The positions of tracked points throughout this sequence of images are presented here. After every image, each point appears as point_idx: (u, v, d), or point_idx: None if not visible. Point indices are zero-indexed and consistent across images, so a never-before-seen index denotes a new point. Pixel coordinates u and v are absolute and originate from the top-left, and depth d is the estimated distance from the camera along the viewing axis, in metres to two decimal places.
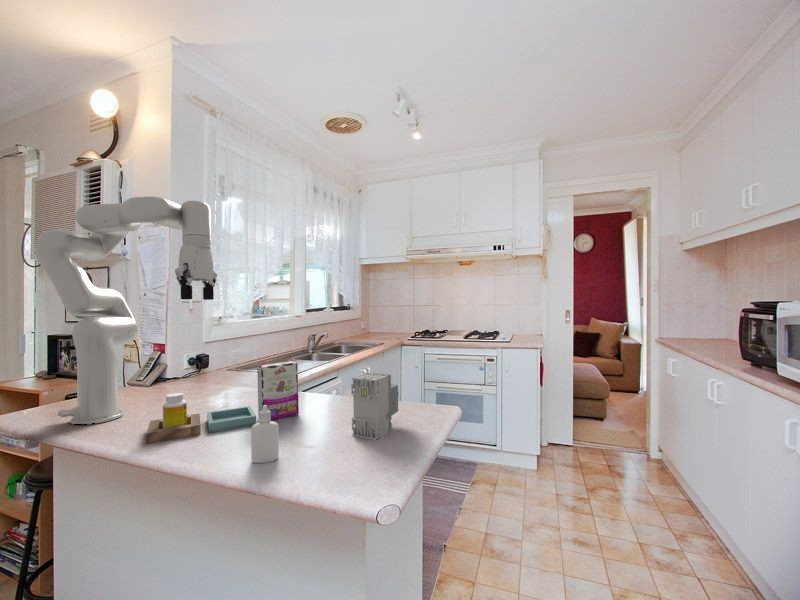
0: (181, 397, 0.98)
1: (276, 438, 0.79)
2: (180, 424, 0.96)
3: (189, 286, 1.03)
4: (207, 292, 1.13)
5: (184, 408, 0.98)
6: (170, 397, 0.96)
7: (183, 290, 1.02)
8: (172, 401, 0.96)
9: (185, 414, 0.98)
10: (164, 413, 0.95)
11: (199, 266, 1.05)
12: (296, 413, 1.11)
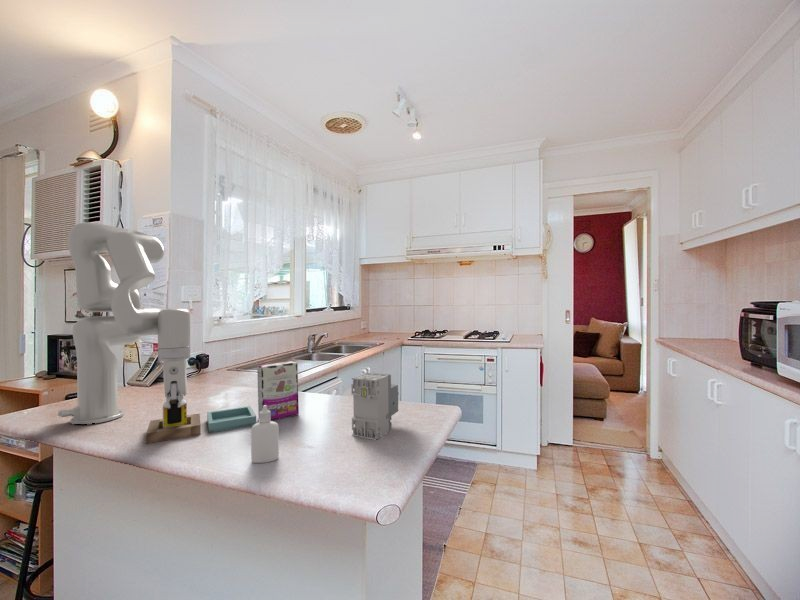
0: (181, 397, 0.98)
1: (276, 438, 0.79)
2: (180, 424, 0.96)
3: None
4: None
5: (184, 408, 0.98)
6: None
7: None
8: None
9: (185, 414, 0.98)
10: (164, 413, 0.95)
11: None
12: (296, 413, 1.11)
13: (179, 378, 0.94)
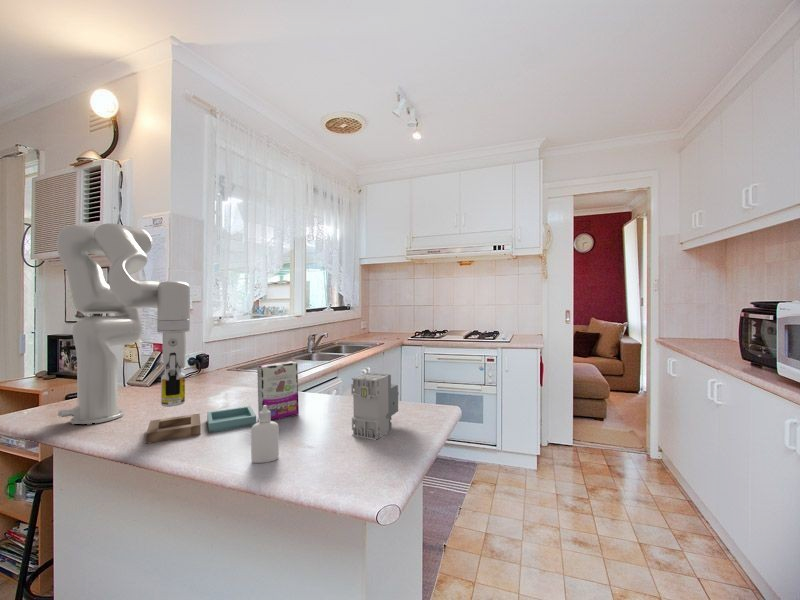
0: (180, 370, 0.98)
1: (276, 438, 0.79)
2: (178, 396, 0.97)
3: None
4: None
5: (182, 381, 0.98)
6: None
7: None
8: None
9: (183, 387, 0.99)
10: (162, 385, 0.96)
11: None
12: (296, 413, 1.11)
13: (178, 350, 0.95)
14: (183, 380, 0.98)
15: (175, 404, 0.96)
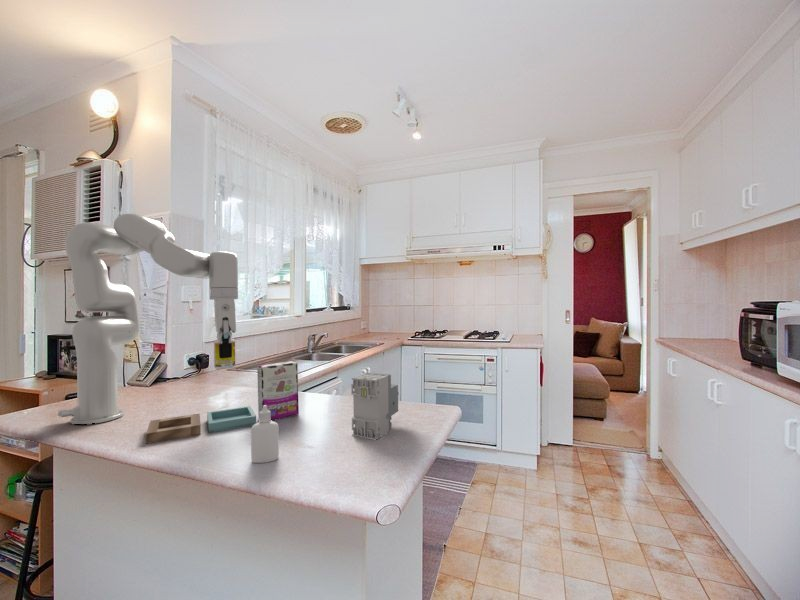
0: None
1: (276, 438, 0.79)
2: (230, 359, 1.03)
3: None
4: None
5: (233, 345, 1.04)
6: None
7: None
8: None
9: (234, 351, 1.05)
10: (216, 348, 1.02)
11: None
12: (296, 413, 1.11)
13: (230, 315, 1.01)
14: (234, 345, 1.04)
15: (227, 366, 1.02)
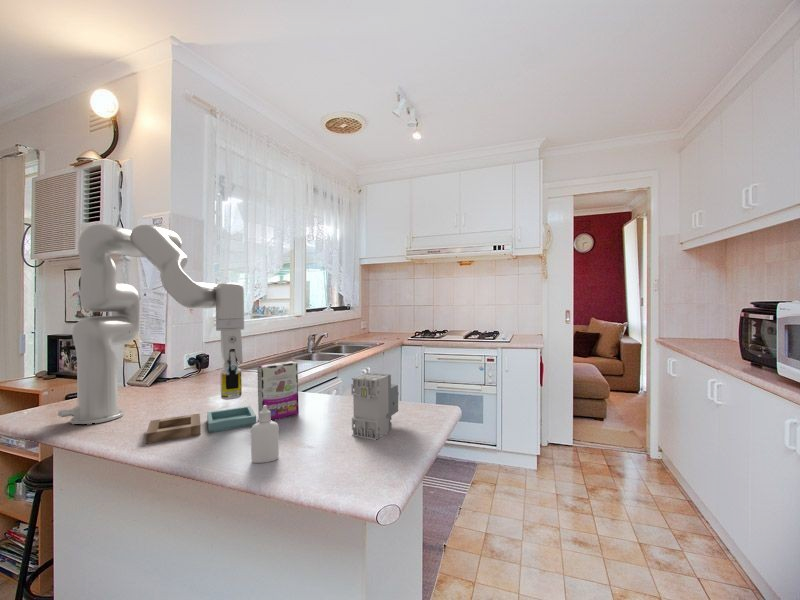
0: (237, 365, 1.05)
1: (276, 438, 0.79)
2: (237, 390, 1.04)
3: None
4: None
5: (240, 375, 1.05)
6: None
7: None
8: None
9: (240, 381, 1.05)
10: (222, 379, 1.03)
11: None
12: (296, 413, 1.11)
13: (237, 346, 1.02)
14: (240, 375, 1.05)
15: (234, 397, 1.03)
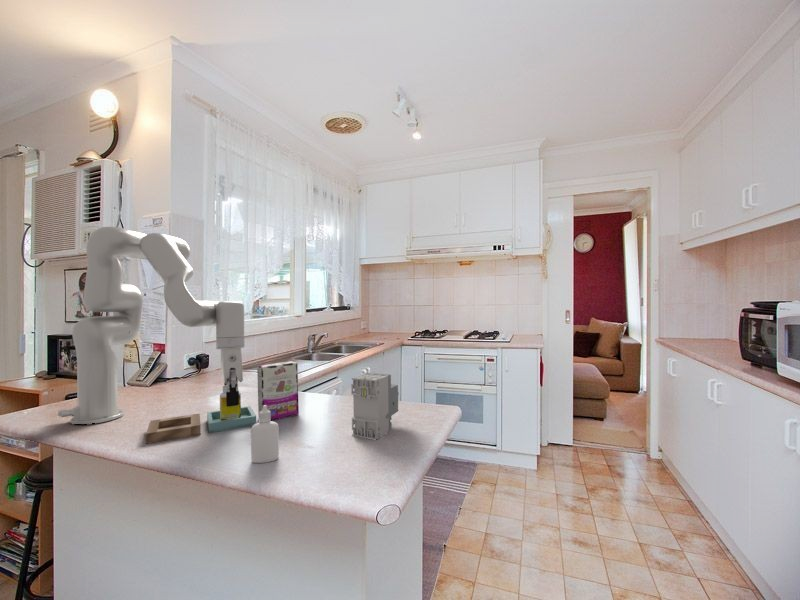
0: None
1: (276, 438, 0.79)
2: (236, 413, 1.04)
3: None
4: None
5: (239, 398, 1.05)
6: None
7: None
8: None
9: (240, 404, 1.05)
10: (222, 403, 1.03)
11: None
12: (296, 413, 1.11)
13: (237, 365, 1.01)
14: (239, 397, 1.05)
15: None
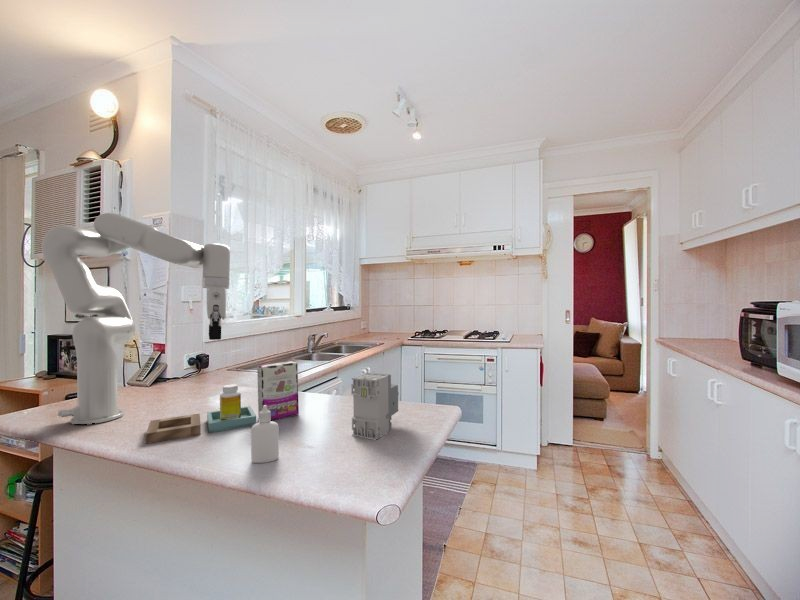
0: (236, 388, 1.05)
1: (276, 438, 0.79)
2: (236, 413, 1.04)
3: None
4: None
5: (239, 398, 1.05)
6: (227, 387, 1.03)
7: None
8: (229, 391, 1.03)
9: (240, 404, 1.05)
10: (222, 402, 1.03)
11: None
12: (296, 413, 1.11)
13: (220, 303, 1.08)
14: (239, 397, 1.05)
15: None
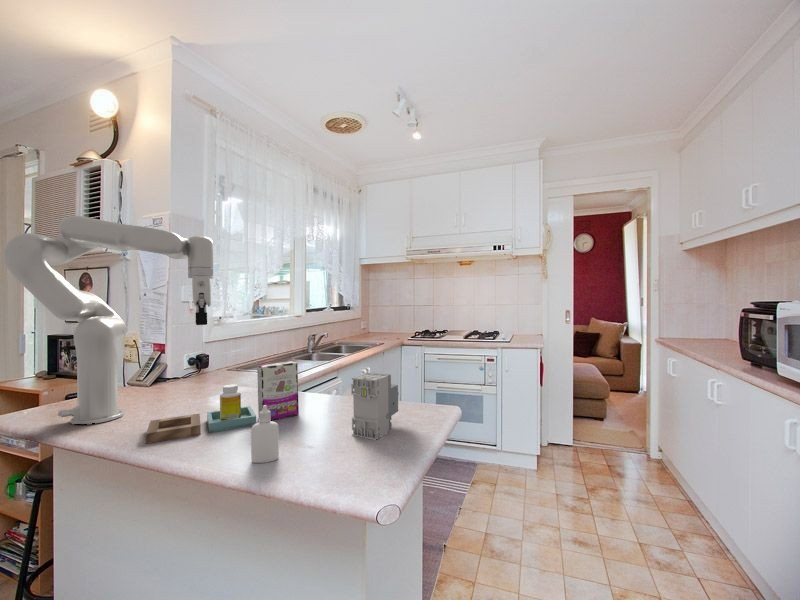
0: (236, 388, 1.05)
1: (276, 438, 0.79)
2: (236, 413, 1.04)
3: None
4: None
5: (239, 398, 1.05)
6: (227, 387, 1.03)
7: None
8: (229, 391, 1.03)
9: (240, 404, 1.05)
10: (222, 402, 1.03)
11: None
12: (296, 413, 1.11)
13: (205, 291, 1.17)
14: (239, 397, 1.05)
15: None
